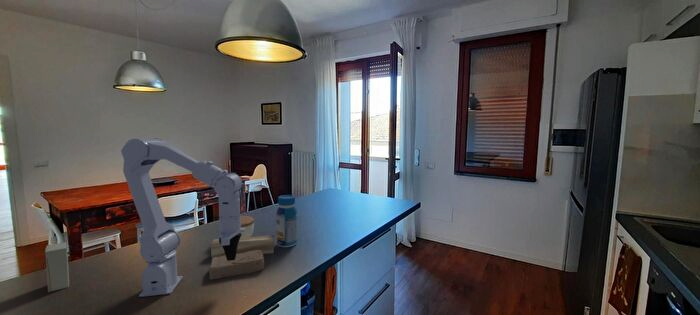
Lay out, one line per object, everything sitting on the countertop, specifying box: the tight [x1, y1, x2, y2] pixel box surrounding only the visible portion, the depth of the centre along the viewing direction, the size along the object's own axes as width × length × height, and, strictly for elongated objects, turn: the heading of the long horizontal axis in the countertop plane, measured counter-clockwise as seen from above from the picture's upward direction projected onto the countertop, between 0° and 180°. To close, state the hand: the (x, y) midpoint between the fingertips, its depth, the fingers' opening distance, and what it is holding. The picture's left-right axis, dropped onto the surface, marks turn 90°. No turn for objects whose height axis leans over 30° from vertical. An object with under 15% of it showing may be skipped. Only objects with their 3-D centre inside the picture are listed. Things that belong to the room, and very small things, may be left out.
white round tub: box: [240, 215, 255, 238], centre depth 117 cm, size 13×13×11 cm
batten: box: [210, 235, 275, 259], centre depth 106 cm, size 4×22×6 cm, turn 102°
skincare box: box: [45, 241, 70, 293], centre depth 82 cm, size 6×4×12 cm
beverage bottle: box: [275, 194, 298, 248], centre depth 114 cm, size 8×8×20 cm
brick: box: [209, 250, 265, 280], centre depth 93 cm, size 17×8×5 cm, turn 113°
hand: (231, 259), depth 83 cm, fingers closed
